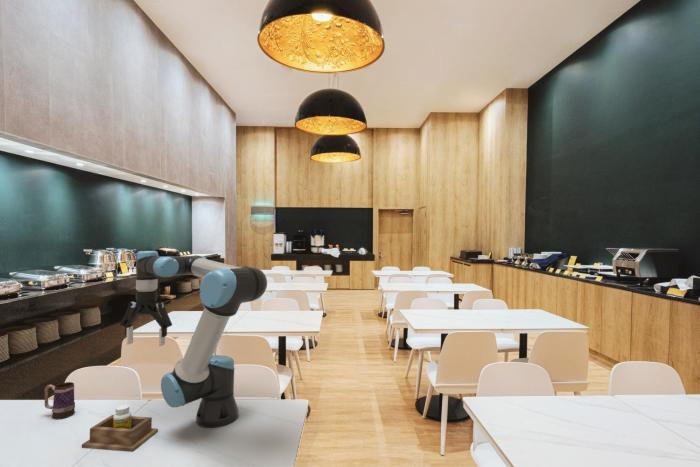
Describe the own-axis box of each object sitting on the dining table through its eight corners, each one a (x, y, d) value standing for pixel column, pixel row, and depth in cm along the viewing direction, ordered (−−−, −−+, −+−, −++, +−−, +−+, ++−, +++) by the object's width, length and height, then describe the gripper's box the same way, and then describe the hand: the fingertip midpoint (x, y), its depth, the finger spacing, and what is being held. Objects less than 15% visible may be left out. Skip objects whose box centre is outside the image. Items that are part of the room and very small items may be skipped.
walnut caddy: (158, 431, 134) (158, 415, 134) (132, 451, 121) (133, 434, 121) (111, 428, 136) (111, 412, 136) (81, 447, 123) (81, 430, 123)
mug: (79, 410, 150) (79, 380, 150) (67, 419, 143) (68, 387, 143) (51, 411, 149) (52, 381, 149) (38, 420, 142) (39, 387, 142)
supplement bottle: (130, 430, 132) (131, 402, 133) (131, 436, 128) (132, 408, 128) (112, 434, 130) (113, 406, 130) (112, 441, 125) (113, 411, 125)
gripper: (181, 289, 152) (181, 343, 151) (124, 288, 155) (123, 340, 154) (171, 292, 144) (169, 348, 144) (110, 290, 147) (109, 345, 147)
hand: (145, 344), depth 149 cm, fingers open, 13 cm apart
